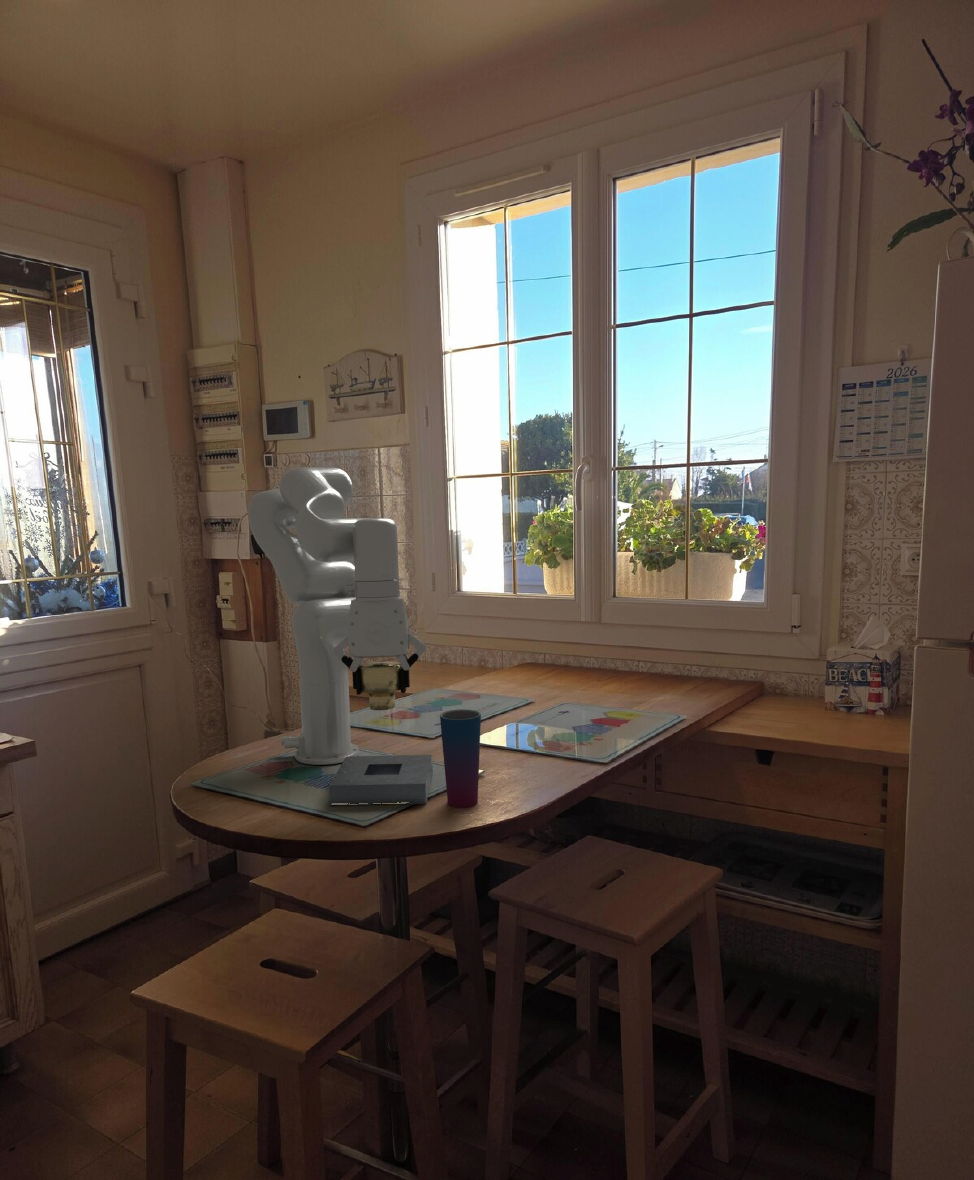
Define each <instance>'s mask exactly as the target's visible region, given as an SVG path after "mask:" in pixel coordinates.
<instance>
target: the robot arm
mask: <svg viewBox="0 0 974 1180" xmlns="http://www.w3.org/2000/svg"><path fill="white" fill-rule="evenodd" d="M352 482H353V481H352V479H351V477H350V475H348V473H347V472H346V471H344V470H343V469H342V468H338V467H317V466H315V467H311V466H310V467H308V466H303V467H302V466H300V467H295V468H292V469H289V470H288V471H286V472H285V473H284V474H283V475H282V477H281V478H280V480H279V485H278V486H279V487H278V489H277V488H276V489H274V488H273V489H267V490H263V491H260V492H258V493H256V494H254V495H253V496H252V497H251V498H250V500H249V502H248V507H247V516H248V517H247V518H248V522H249V527H250V530H251V533H252V535H253V537H254V540H255V541H256V544H257V545H258V546H259V548H260V549H261V550H262V552H263V553H264V554H265V555H266V556H267V559H269V561H270V563H271V564H272V566H273V567H272V568H273V569H274V572H275V573H276V576H277V578H278V581H279V583H280V585H281V588H282V590H283V592H284V594H285V596H286V598H287V600H288V602H289V603H290V604H292V605H293V606H295V607H296V608H295V609H294V610H293V613H292V617H291V626H292V627H291V628H292V632H293V638H294V643H295V647H296V653H297V660H298V661H297V662H298V674H299V698H300V713H301V715H300V716H301V718H300V720H301V734H297V735H296V736H291V735H289V736H281V740H280V741H281V746H282V747H284V749H294V748H295V749H296V751H295V753H294V759H295V760H296V761H297V762H299V763H301V764H305V765H310V766H313V765H315V766H323V765H334V764H340V763H341V764H342V763H343V761H344V759H345V758H346V757H350V756H359V754H360V749H359V746H358V745H357V744H355V743H352V739H351V713H350V711H351V709H350V691H349V690H350V689H349V686H350V685H349V684H350V683H349V671H350V672H352V673H351V675H352V689H353V690H356V692H355V693H356V695H357V696H359V695H361V694H362V693H363V692H362V691H361V672H360V666H361V665H362V662H363V659H365V658H366V659H369V658H371V659H372V658H375V659H377V658H395V657H396V659H397V660H398V661H397V662H399V663H400V664H401V670H400V690H399V691H400V693H401V694H406V692H407V688H410V687H411V685H410V683H411V682H410V681H411V680H410V677H411V676H410V668H411V667H412V666H413V665H414V664H415V663H416V662H417V661H418V659H419V658H420V657H421V656H422V654H423V653H424V652H425V651H426V650H427V645H426V643H424V642H423V641H422V640H421V639H419V638H418V637H417V636H415V634H413V633H412V632H410V631H409V630H410V629H409V621H408V613H407V607H406V604H405V599H404V597H401V595H400V575H399V574H400V572H399V571H400V570H399V549H398V548H399V547H398V527H397V524H396V522H395V521H394V520H393V519H390V518H370V517H369V518H368V517H364V518H361V517H359V518H357V517H356V518H353V517H352V518H348V517H347V518H344V517H343V516H344V515H345V510H346V509H347V508H348V507H349V505H350V504H351V501H352V500H353V496H354V487H353V483H352ZM290 530H295V533H294V532H292V531H290ZM350 561H353V563H354V564H353V563H352V562H350ZM410 644H411V645H412V646H414V647H415V650H414V652H413V653H412V654H411V655H410V656H409V657H408V656H407V653H408V651H409V649H410ZM346 647H348V653H349V654H350V655H349V654H347V653H346V651H345V648H346ZM353 657H354V659H353ZM348 669H349V670H348Z"/></svg>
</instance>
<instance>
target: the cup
mask: <svg viewBox="0 0 974 1180" xmlns="http://www.w3.org/2000/svg"><path fill="white" fill-rule="evenodd" d="M439 721H440V731H441V741H442V742H441V744H442V755H443V767H444V777H445V786H446V797H447V798H446V799H447V804H448V805H449V806H451V807H453V808H459V809H460V808H462V809H463V808H470V807H473V806H475V805H477V804H478V803H479V780H480V779H479V776H480V775H479V774H480V752H481V751H480V750H481V727H482V726H481V723H482V713H481V712H480V711H478V710H475V709H469V708H468V709H467V708H466V709H465V708H463V709H461V708H460V709H458V708H457V709H450V710H446V711H443V712H440V714H439Z"/></svg>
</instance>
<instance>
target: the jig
mask: <svg viewBox="0 0 974 1180" xmlns="http://www.w3.org/2000/svg"><path fill="white" fill-rule="evenodd" d="M433 770H434V769H433V755H432V754H412V755H411V754H410V755H409V754H406V755H405V754H404V755H401V754H400V755H363V756H362V755H361V756H360V755H358V756H350V757H346V758H345V759H344V761H343V762H341V765H340V766H339V768H338V770H337V772H336V773H335V775H334V777H333V778H332V780H331V781H330V784H329V785H328V787H329V789H328V790H329V792H328V793H329V804H330V803H331V804H332V803H348V804H349V803H350V804H359V803H368V804H373V803H381V804H382V803H397V802H399V803H401V802H409V803H411V804H410V805H426V804H427V801H428V796H429V792H430V788H431V787H430V786H431V782H432V778H433V774H432V773H433ZM429 787H430V788H429ZM428 791H429V792H428Z"/></svg>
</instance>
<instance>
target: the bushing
mask: <svg viewBox="0 0 974 1180" xmlns="http://www.w3.org/2000/svg"><path fill="white" fill-rule="evenodd" d="M400 670H401V664H400V663H399V661H374V662H372V661H371V662H366V663H363V664H362V663H361V664H360V672H361V691H362V693H365V694H368V697H369V699H368V700H369V710H372V711H388V710H393V709H395V708H396V692H399V691H401V690H400Z"/></svg>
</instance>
